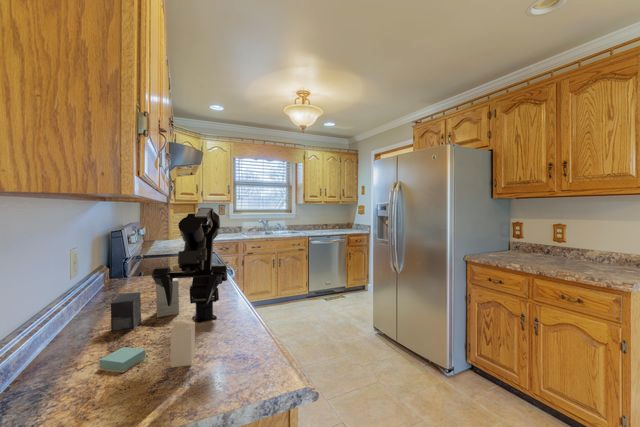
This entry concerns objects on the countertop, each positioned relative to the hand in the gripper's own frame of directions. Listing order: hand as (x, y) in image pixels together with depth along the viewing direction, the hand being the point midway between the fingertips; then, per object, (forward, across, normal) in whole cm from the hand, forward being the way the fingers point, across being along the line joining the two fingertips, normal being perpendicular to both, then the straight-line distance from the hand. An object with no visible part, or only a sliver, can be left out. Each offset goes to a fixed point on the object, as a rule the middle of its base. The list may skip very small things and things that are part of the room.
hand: (188, 304), depth 77 cm
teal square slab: (+11, -14, +5) cm, 19 cm away
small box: (-3, -23, +28) cm, 36 cm away
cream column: (+14, 0, +4) cm, 15 cm away
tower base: (+13, -14, +6) cm, 20 cm away
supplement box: (-11, -14, +38) cm, 42 cm away
